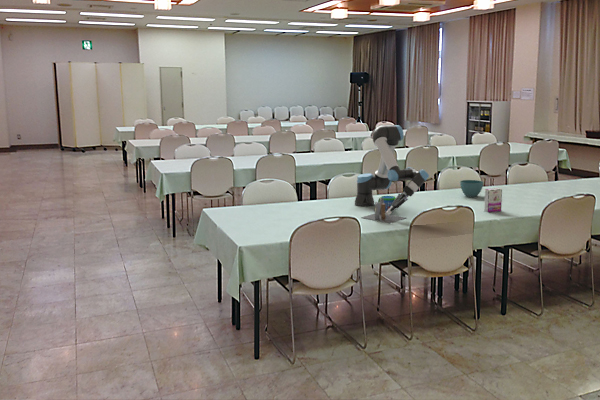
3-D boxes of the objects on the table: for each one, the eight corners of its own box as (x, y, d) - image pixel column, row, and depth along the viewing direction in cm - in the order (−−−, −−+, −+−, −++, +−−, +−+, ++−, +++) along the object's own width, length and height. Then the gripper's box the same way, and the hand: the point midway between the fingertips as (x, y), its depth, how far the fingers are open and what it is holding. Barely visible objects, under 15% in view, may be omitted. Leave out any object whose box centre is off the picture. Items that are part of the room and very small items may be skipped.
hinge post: (377, 214, 410) (378, 197, 408) (384, 214, 410) (385, 197, 407) (377, 215, 405) (378, 198, 403) (385, 215, 405) (385, 199, 402)
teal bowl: (455, 195, 477) (455, 180, 474) (474, 193, 482) (474, 179, 480) (467, 199, 460) (468, 184, 458) (487, 197, 465) (488, 182, 463)
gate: (379, 214, 405) (380, 200, 403) (383, 214, 405) (383, 200, 403) (381, 219, 392) (381, 204, 390) (385, 219, 391) (385, 204, 389)
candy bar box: (497, 210, 420) (498, 187, 417) (501, 211, 415) (502, 189, 412) (483, 211, 417) (485, 188, 414) (487, 212, 412) (489, 190, 409)
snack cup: (374, 210, 423) (375, 196, 421) (383, 207, 431) (383, 194, 429) (392, 213, 413) (393, 199, 411) (400, 210, 420) (401, 197, 418)
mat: (361, 217, 399) (361, 217, 399) (378, 213, 413) (378, 212, 413) (389, 223, 383) (389, 222, 383) (406, 218, 397) (406, 217, 397)
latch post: (375, 219, 395) (375, 202, 393) (379, 219, 395) (379, 202, 392) (374, 220, 390) (375, 203, 388) (379, 220, 390) (379, 203, 387)
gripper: (417, 194, 387) (393, 219, 387) (410, 190, 399) (387, 215, 400) (410, 186, 385) (386, 212, 385) (403, 183, 397) (380, 208, 398)
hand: (387, 214), depth 392 cm, fingers closed
